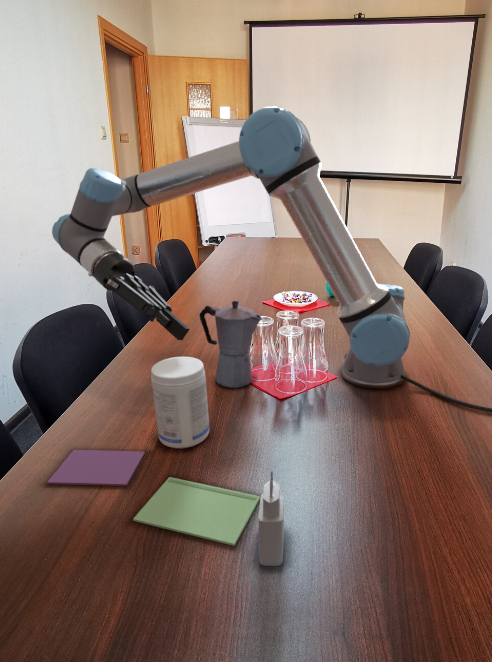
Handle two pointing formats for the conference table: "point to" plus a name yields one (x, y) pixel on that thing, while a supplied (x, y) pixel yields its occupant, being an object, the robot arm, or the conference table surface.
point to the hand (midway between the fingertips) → (183, 334)
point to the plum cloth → (98, 468)
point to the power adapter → (271, 524)
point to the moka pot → (232, 342)
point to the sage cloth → (199, 510)
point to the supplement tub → (180, 401)
